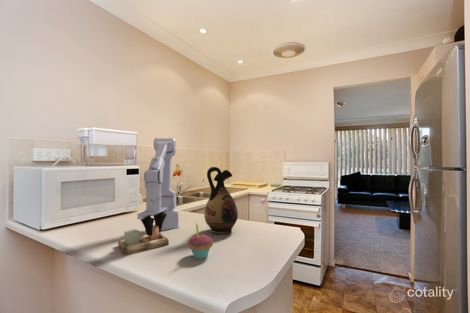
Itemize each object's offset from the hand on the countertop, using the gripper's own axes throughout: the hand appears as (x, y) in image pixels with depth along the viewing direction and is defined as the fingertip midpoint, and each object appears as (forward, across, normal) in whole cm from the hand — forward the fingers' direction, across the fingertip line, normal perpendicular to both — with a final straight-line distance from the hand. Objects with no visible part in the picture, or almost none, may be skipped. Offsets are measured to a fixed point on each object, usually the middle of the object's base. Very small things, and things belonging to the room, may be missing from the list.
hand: (153, 233), depth 92 cm
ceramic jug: (+4, -24, +17) cm, 29 cm away
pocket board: (+4, +4, -2) cm, 6 cm away
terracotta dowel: (+2, 0, 0) cm, 2 cm away
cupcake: (+4, +3, +24) cm, 25 cm away
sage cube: (+3, +7, -4) cm, 9 cm away
